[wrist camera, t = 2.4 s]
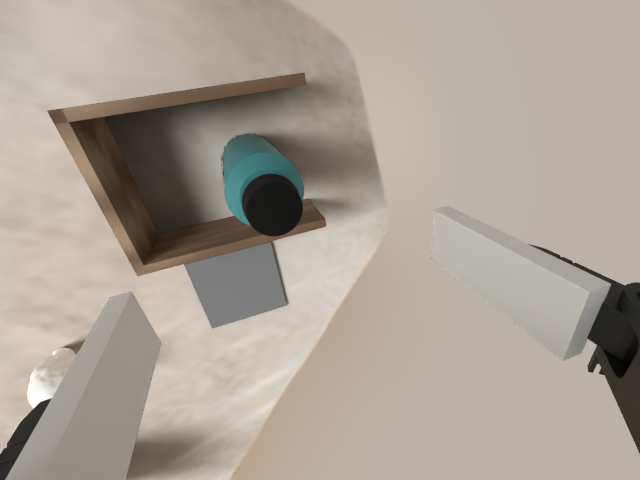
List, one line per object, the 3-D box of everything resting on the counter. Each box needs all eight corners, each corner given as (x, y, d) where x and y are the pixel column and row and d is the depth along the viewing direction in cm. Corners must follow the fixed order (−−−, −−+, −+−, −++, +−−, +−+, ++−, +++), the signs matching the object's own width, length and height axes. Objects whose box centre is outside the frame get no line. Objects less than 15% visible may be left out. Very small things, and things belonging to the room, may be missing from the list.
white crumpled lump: (85, 395, 33) (76, 451, 38) (110, 337, 40) (100, 390, 45) (13, 394, 31) (13, 454, 35) (53, 332, 38) (49, 389, 42)
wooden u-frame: (88, 107, 29) (47, 110, 22) (287, 77, 33) (304, 72, 27) (153, 243, 37) (137, 276, 30) (308, 205, 41) (326, 226, 34)
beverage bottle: (210, 143, 34) (199, 190, 17) (262, 121, 35) (301, 144, 17) (237, 192, 37) (251, 271, 20) (283, 170, 38) (335, 230, 21)
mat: (184, 263, 39) (184, 265, 39) (270, 240, 42) (270, 242, 41) (212, 326, 45) (212, 328, 45) (286, 303, 47) (286, 305, 47)
